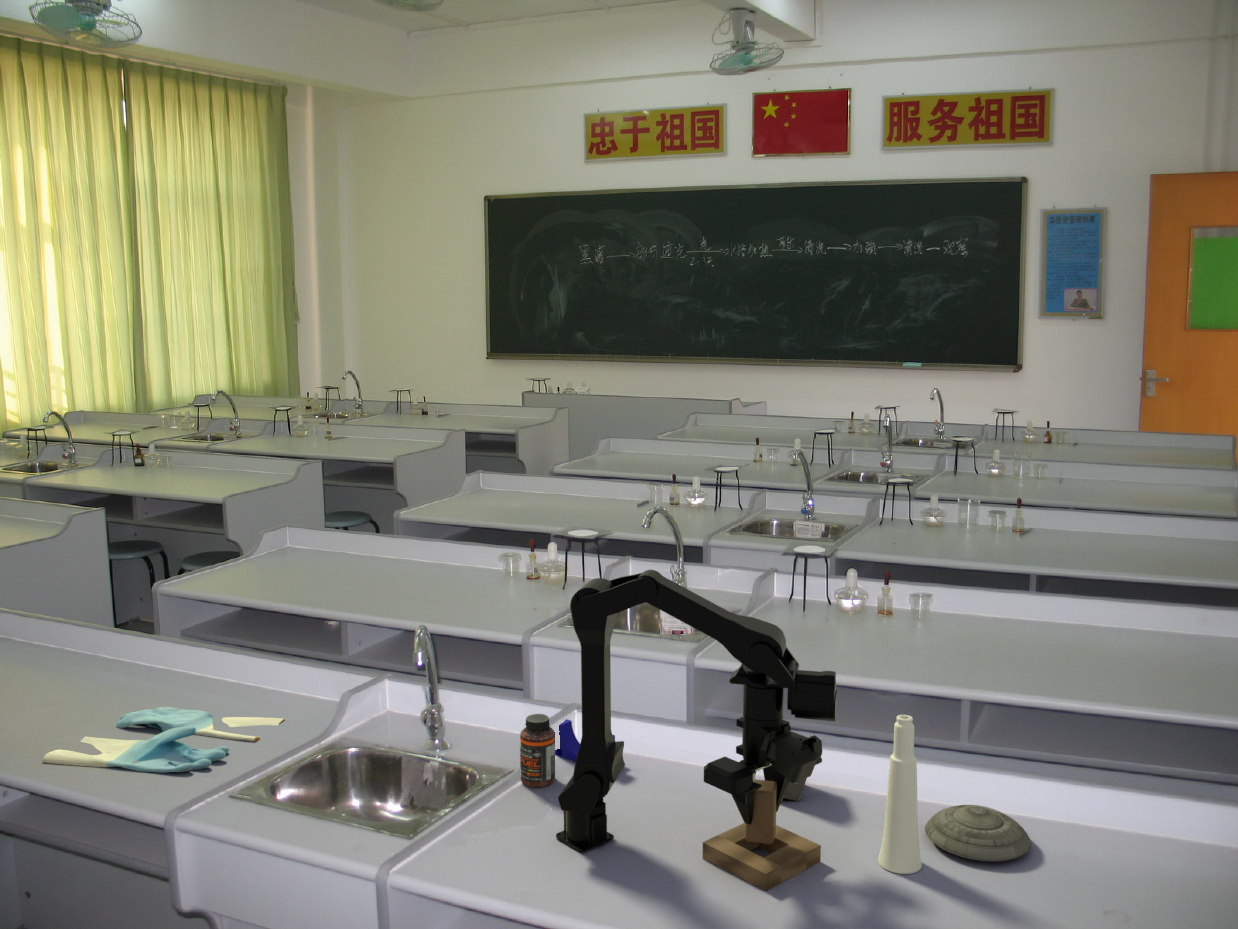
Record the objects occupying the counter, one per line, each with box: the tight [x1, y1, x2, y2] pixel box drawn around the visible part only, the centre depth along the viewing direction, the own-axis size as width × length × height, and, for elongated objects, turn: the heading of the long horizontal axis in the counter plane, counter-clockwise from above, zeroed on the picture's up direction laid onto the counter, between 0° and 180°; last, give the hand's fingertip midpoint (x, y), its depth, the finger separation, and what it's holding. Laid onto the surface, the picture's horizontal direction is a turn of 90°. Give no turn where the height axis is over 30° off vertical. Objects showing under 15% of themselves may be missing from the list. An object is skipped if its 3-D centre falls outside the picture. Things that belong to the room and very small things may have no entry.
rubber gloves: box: [41, 706, 285, 774], centre depth 199 cm, size 27×33×6 cm
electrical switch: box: [781, 730, 808, 803], centre depth 176 cm, size 9×5×9 cm, turn 176°
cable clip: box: [555, 718, 616, 763], centre depth 189 cm, size 12×4×6 cm, turn 49°
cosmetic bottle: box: [878, 714, 923, 875], centre depth 151 cm, size 6×6×22 cm
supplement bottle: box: [519, 713, 556, 788], centre depth 180 cm, size 6×6×11 cm
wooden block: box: [745, 778, 777, 844], centre depth 153 cm, size 4×4×8 cm
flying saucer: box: [924, 804, 1032, 862], centre depth 159 cm, size 15×15×6 cm
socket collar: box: [702, 822, 822, 892], centre depth 154 cm, size 12×12×2 cm
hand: (760, 817), depth 153 cm, fingers closed on wooden block, 5 cm apart
